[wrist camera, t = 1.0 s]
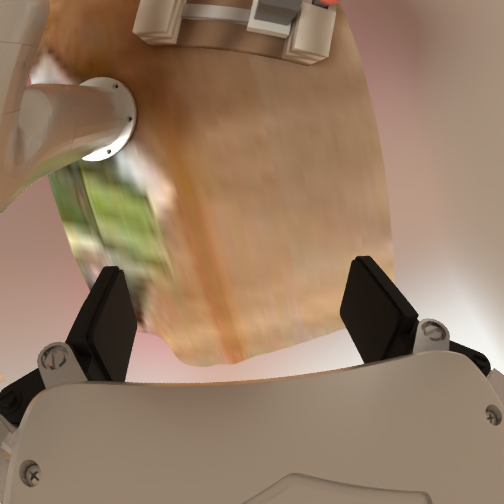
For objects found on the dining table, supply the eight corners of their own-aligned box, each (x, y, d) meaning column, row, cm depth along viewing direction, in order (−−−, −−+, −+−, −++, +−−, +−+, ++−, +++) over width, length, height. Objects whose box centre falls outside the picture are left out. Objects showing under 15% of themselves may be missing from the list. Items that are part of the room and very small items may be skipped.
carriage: (245, 33, 28) (252, 11, 20) (252, 3, 26) (261, -24, 18) (283, 40, 29) (301, 22, 21) (289, 10, 27) (308, -14, 19)
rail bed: (150, 45, 29) (132, 32, 22) (164, -12, 25) (152, -35, 17) (307, 66, 33) (328, 57, 25) (317, 9, 28) (339, -9, 21)
